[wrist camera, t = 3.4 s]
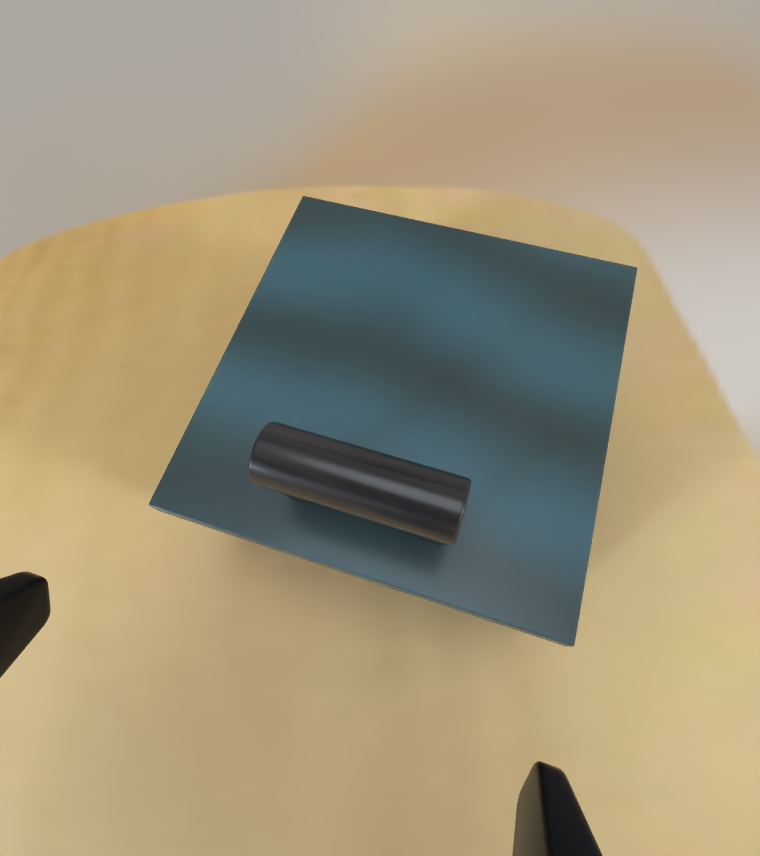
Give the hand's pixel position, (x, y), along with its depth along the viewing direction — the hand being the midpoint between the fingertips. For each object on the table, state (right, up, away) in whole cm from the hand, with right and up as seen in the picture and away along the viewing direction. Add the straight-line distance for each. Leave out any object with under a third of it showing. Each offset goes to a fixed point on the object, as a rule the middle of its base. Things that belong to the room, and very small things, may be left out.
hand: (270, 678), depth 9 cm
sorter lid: (+3, +6, +8) cm, 10 cm away
